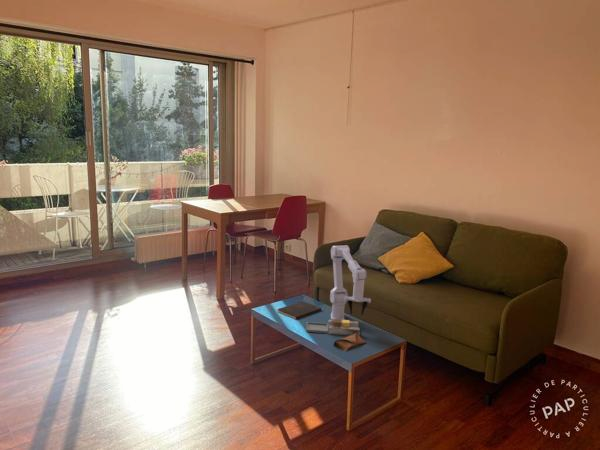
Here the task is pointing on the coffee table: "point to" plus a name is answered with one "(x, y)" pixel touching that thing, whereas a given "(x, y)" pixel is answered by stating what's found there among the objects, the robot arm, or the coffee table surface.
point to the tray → (317, 327)
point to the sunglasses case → (349, 342)
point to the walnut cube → (336, 322)
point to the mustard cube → (345, 323)
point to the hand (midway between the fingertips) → (356, 313)
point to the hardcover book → (299, 310)
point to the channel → (343, 328)
